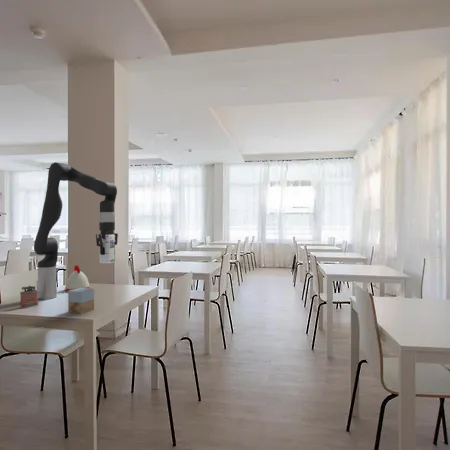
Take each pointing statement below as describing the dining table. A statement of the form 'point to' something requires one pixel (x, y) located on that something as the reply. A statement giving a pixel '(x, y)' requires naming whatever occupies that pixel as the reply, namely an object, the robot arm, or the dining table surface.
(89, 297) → the tower top block
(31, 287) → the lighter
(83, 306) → the tower bottom block
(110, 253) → the syrup box
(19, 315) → the dining table surface
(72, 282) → the kitchen timer
